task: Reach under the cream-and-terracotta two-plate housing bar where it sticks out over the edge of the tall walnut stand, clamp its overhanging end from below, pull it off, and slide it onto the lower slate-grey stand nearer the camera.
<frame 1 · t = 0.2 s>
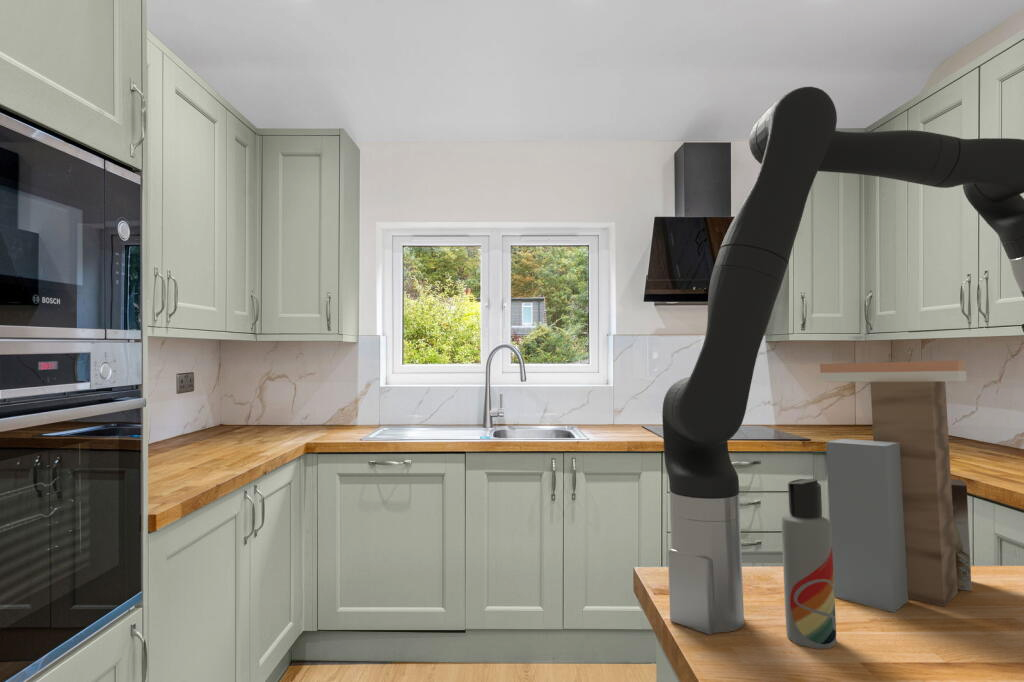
coffee box: (935, 581, 94), on the countertop
grey stand: (870, 598, 87), on the countertop
housing bar: (889, 381, 93), point 32 cm above the countertop, touching walnut stand
lotion bottle: (811, 641, 74), on the countertop
walnut stand: (919, 592, 89), on the countertop
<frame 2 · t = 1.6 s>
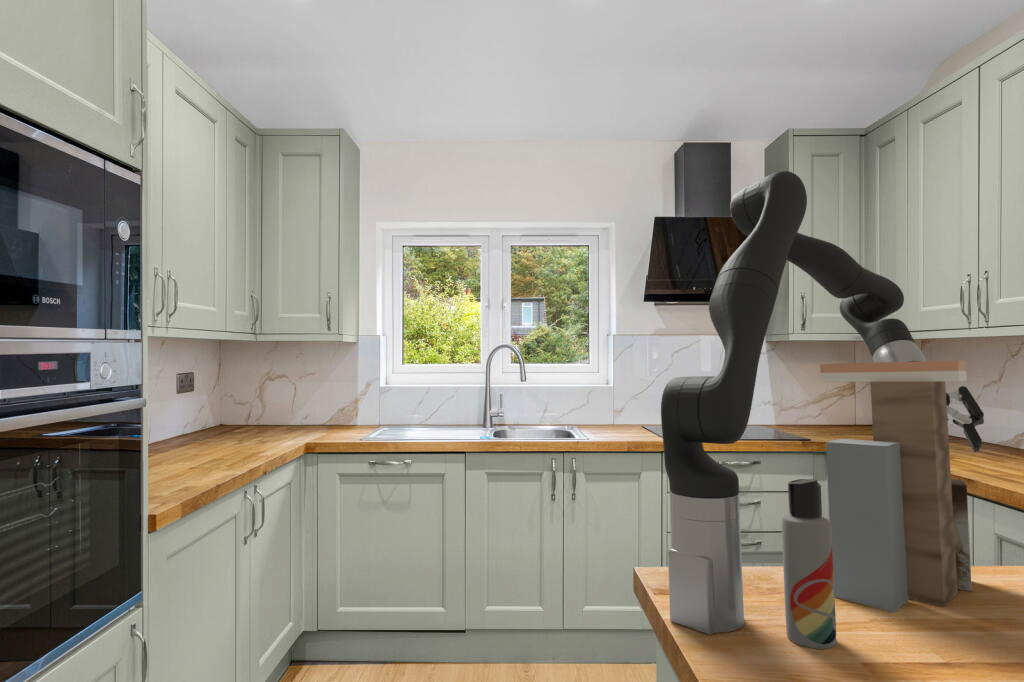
hand: (945, 456, 92), 20 cm above the countertop, tool tilted 35°, fingers open, 8 cm apart
nothing on the countertop moved.
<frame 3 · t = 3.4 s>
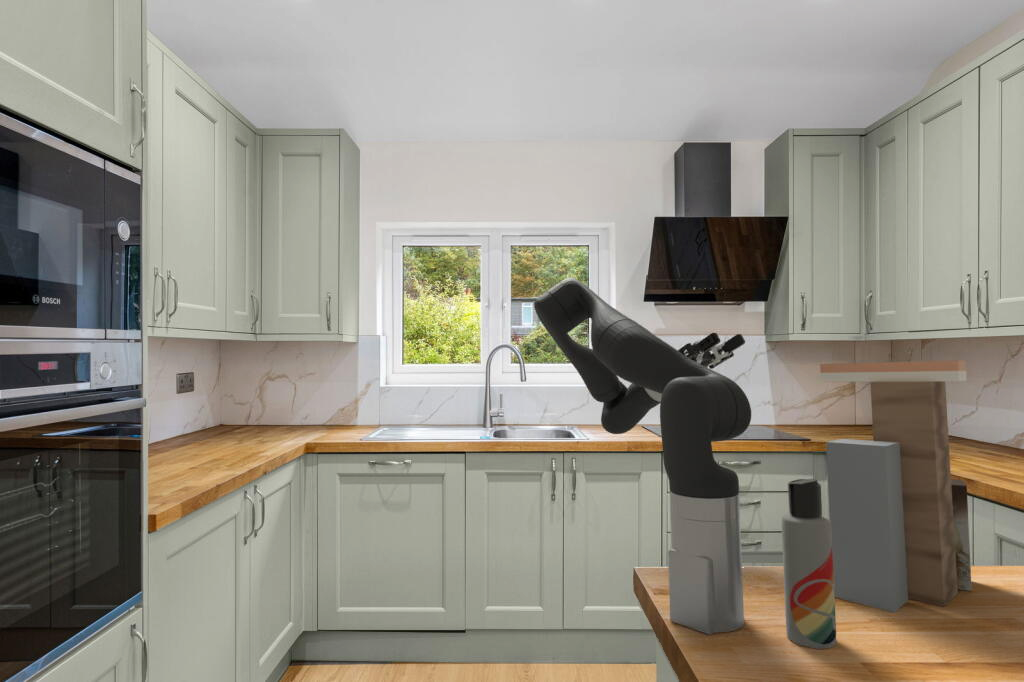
hand: (730, 337, 113), 41 cm above the countertop, tool pointing upward, fingers open, 8 cm apart
nothing on the countertop moved.
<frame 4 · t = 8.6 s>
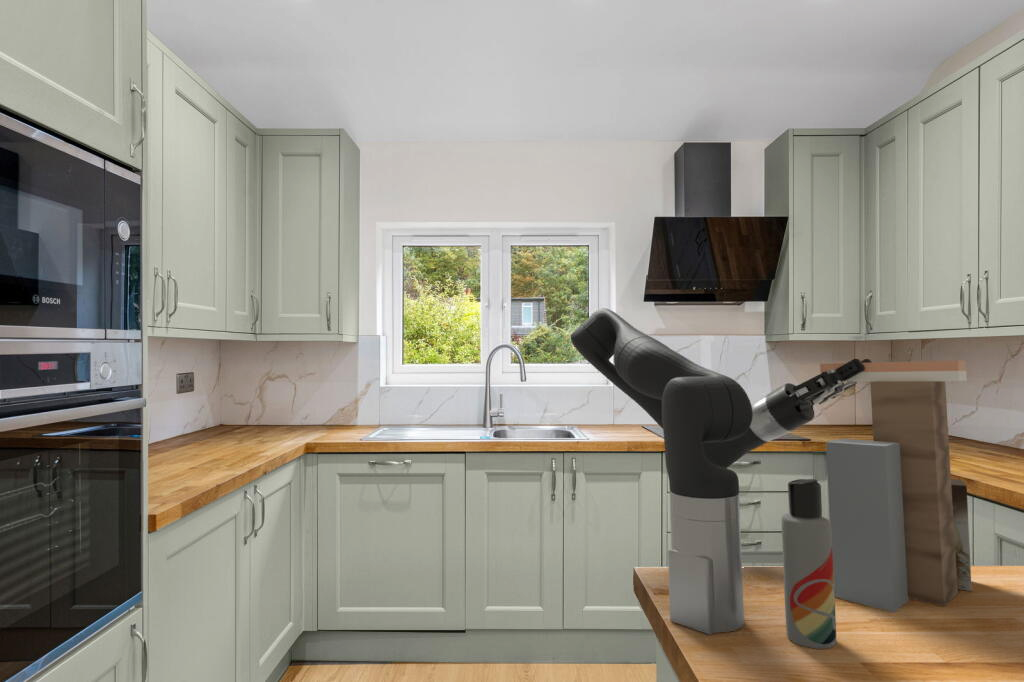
hand: (866, 363, 96), 35 cm above the countertop, tool pointing upward, fingers closed on housing bar, 4 cm apart
housing bar: (889, 381, 93), point 32 cm above the countertop, touching gripper, walnut stand
everything else where it was.
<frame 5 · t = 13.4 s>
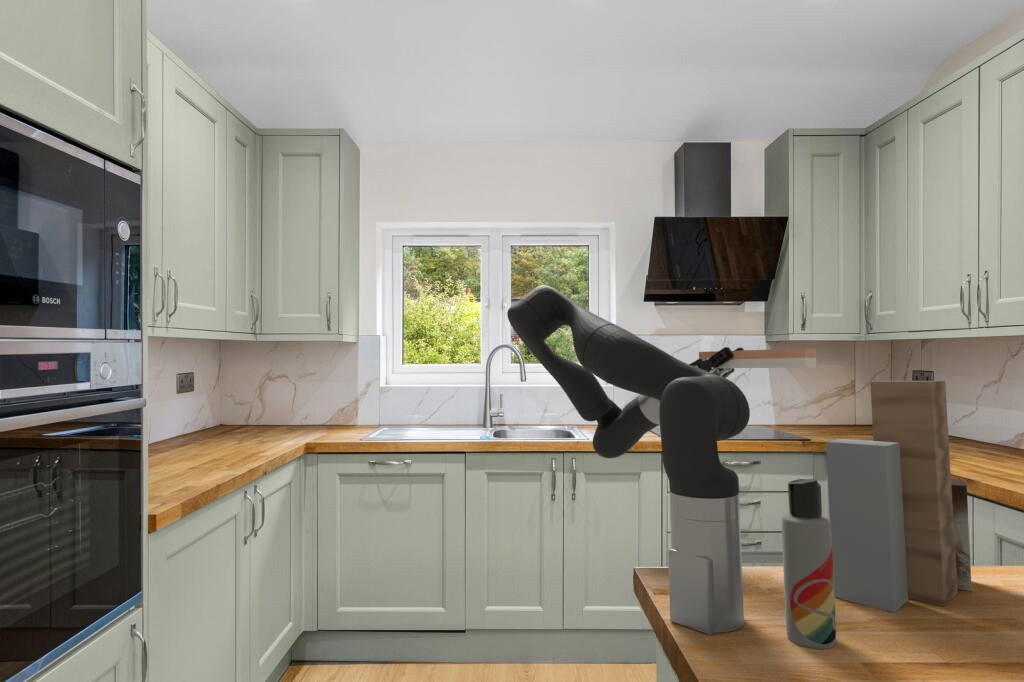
hand: (737, 351, 104), 37 cm above the countertop, tool pointing upward, fingers closed on housing bar, 4 cm apart
housing bar: (754, 367, 102), point 35 cm above the countertop, touching gripper
everything else where it was.
when the fingers open (28 cm above the countertop, at t = 18.0 s): housing bar drops 2 cm, resting on grey stand.
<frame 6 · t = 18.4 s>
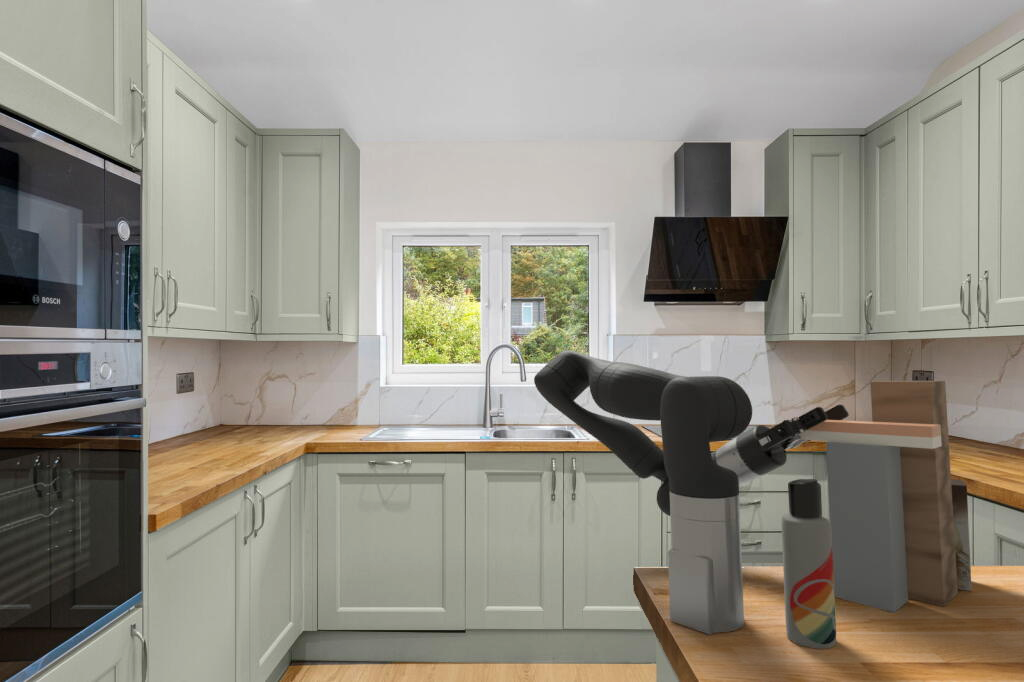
hand: (834, 411, 91), 28 cm above the countertop, tool pointing upward, fingers open, 7 cm apart
housing bar: (861, 442, 88), point 23 cm above the countertop, touching grey stand
everything else where it was.
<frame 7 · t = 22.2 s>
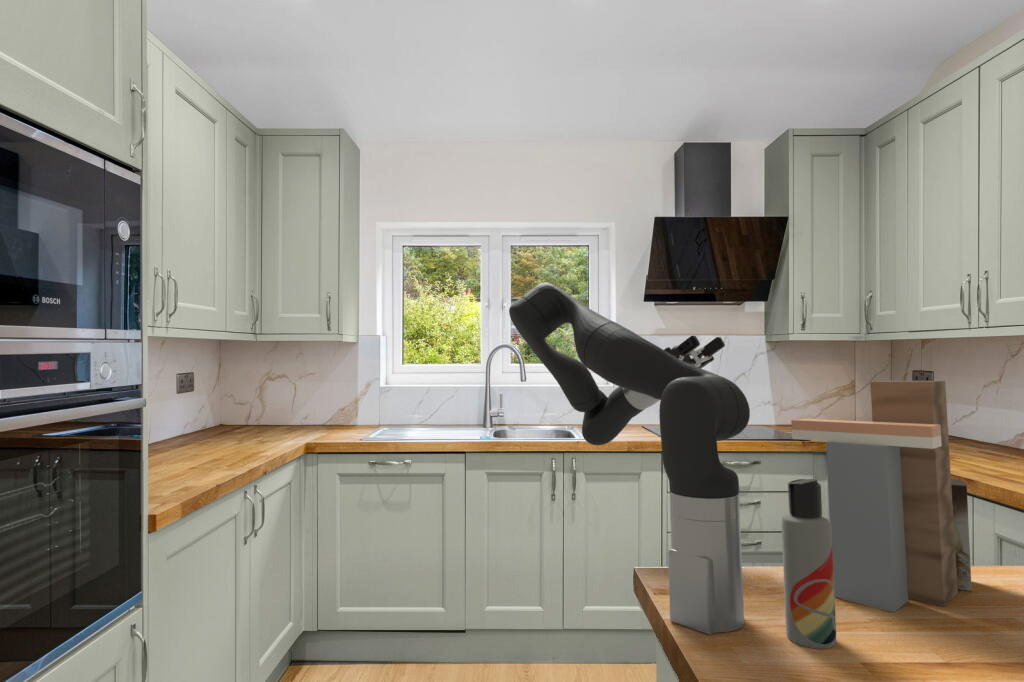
hand: (709, 340, 110), 40 cm above the countertop, tool pointing upward, fingers open, 8 cm apart
nothing on the countertop moved.
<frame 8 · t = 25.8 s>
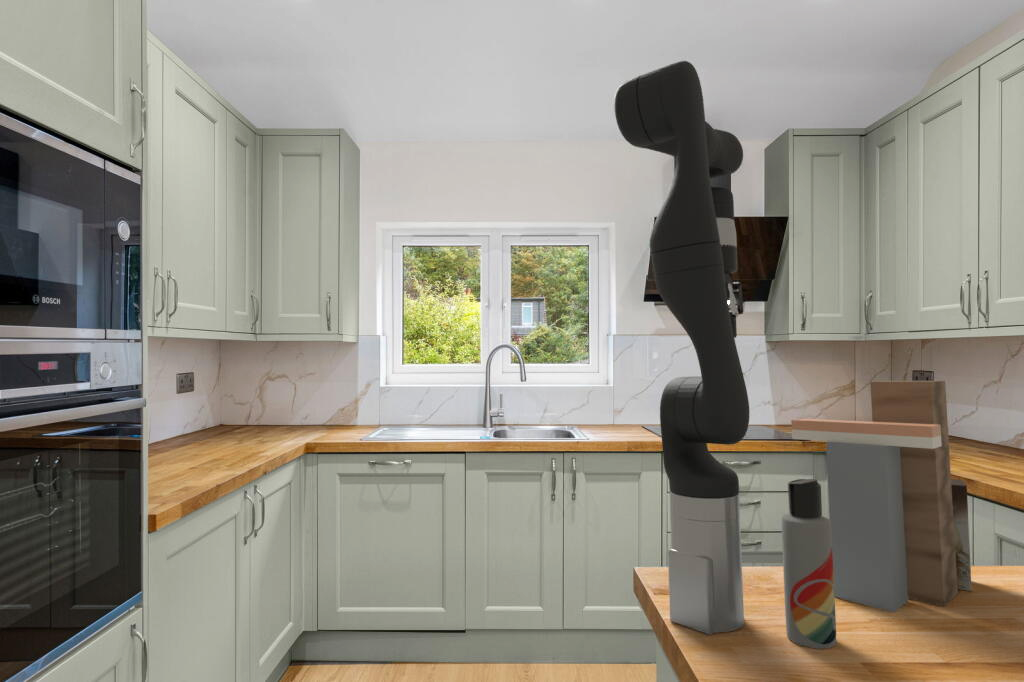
hand: (717, 337, 105), 40 cm above the countertop, tool pointing down, fingers open, 8 cm apart
nothing on the countertop moved.
at the end: housing bar inside the target area on the grey stand (0.4 cm from its centre), point 23.0 cm above the grey stand's base; housing bar tilted 0°; the gripper is holding nothing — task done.
